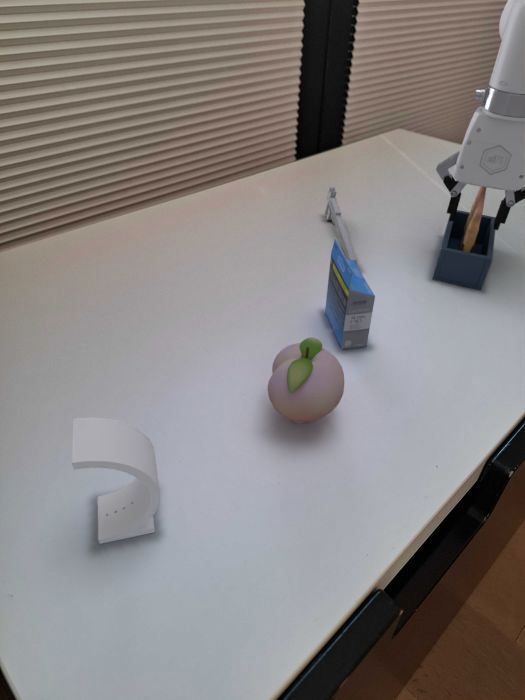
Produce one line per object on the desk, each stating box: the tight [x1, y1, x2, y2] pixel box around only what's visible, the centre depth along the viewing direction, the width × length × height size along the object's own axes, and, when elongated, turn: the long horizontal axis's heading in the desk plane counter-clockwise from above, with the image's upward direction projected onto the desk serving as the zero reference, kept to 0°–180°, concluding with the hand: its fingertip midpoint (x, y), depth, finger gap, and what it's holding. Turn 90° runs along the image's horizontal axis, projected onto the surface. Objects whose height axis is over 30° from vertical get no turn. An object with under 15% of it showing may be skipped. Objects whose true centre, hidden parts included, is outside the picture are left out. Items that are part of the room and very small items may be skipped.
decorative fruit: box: [267, 337, 345, 424], centre depth 56 cm, size 9×8×10 cm
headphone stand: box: [71, 416, 161, 545], centre depth 45 cm, size 5×6×12 cm
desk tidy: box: [431, 209, 496, 291], centre depth 85 cm, size 8×16×6 cm, turn 158°
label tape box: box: [324, 236, 376, 350], centre depth 68 cm, size 9×4×12 cm, turn 9°
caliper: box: [324, 187, 359, 268], centre depth 89 cm, size 20×1×6 cm, turn 8°
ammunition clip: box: [458, 186, 487, 253], centre depth 82 cm, size 11×2×12 cm, turn 158°
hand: (473, 221), depth 82 cm, fingers open, 6 cm apart
